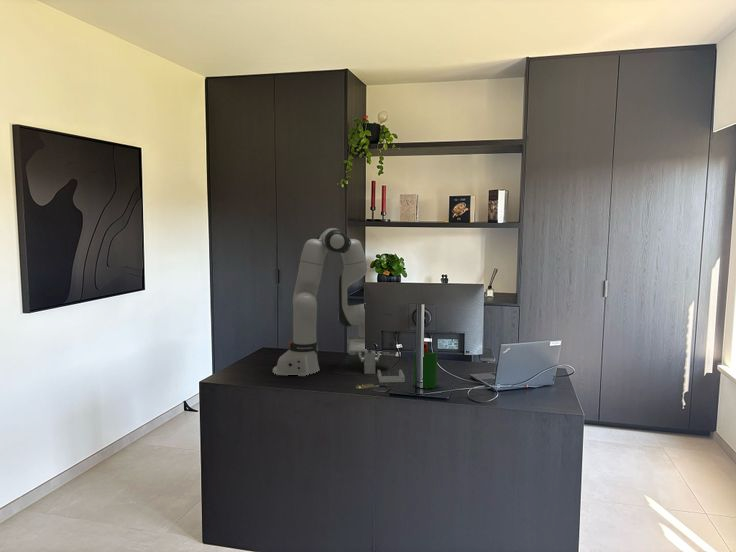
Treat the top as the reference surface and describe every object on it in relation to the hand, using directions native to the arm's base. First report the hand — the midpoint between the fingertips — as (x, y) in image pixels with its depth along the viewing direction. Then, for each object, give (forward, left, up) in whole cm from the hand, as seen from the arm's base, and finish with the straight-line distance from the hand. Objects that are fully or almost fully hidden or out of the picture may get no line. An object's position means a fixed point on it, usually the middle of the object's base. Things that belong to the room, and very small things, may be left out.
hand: (369, 361), depth 253 cm
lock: (0, +1, -5) cm, 5 cm away
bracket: (+9, -9, -5) cm, 14 cm away
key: (-4, -22, -5) cm, 23 cm away
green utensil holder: (+23, -21, -6) cm, 32 cm away
